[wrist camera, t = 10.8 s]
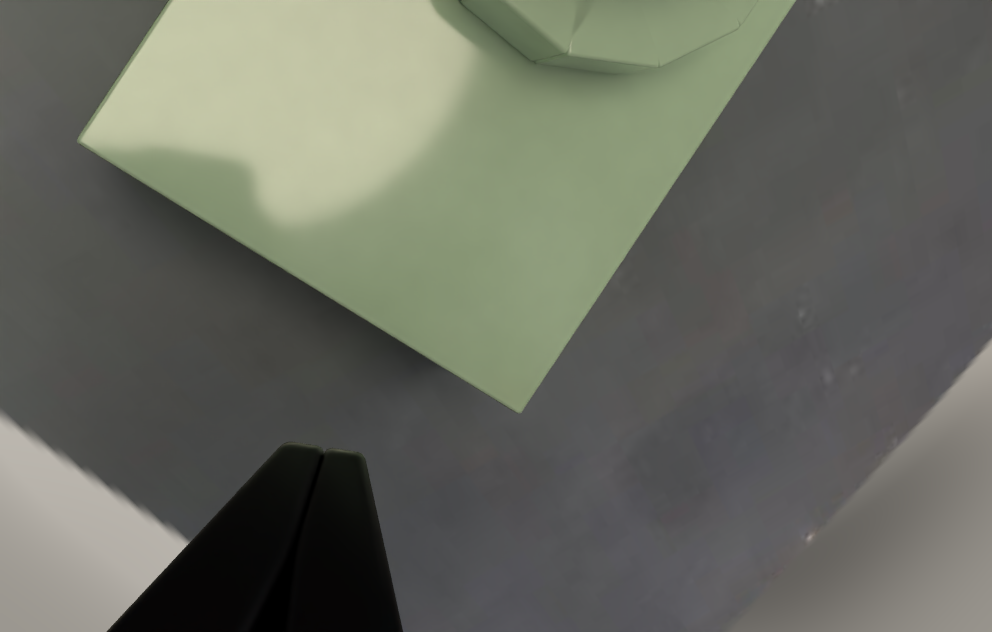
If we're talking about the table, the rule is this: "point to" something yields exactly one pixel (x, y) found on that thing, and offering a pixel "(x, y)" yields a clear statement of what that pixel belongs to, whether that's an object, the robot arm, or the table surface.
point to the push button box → (433, 150)
